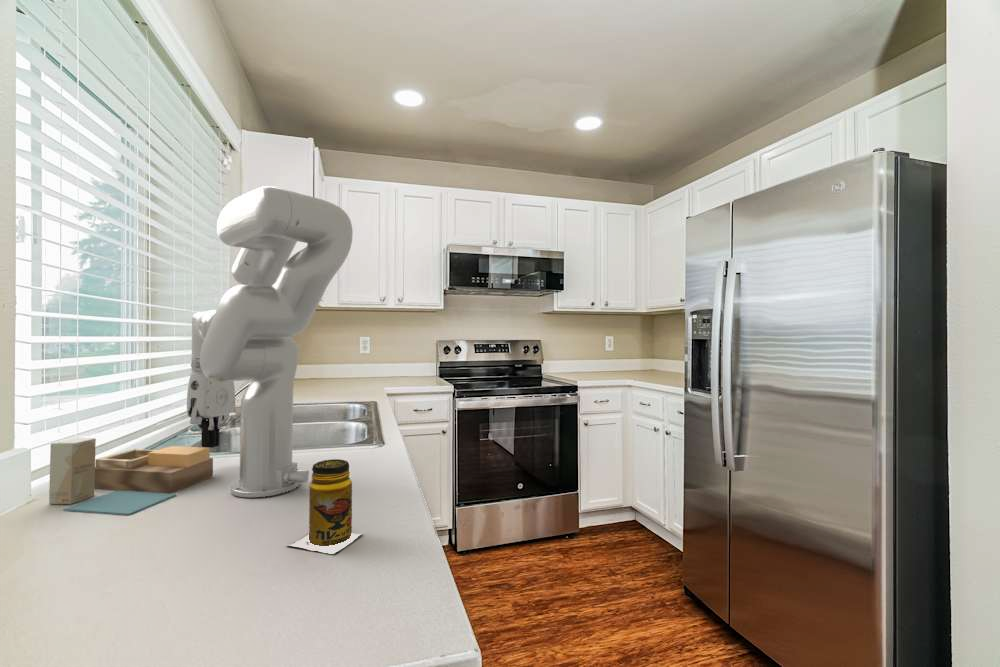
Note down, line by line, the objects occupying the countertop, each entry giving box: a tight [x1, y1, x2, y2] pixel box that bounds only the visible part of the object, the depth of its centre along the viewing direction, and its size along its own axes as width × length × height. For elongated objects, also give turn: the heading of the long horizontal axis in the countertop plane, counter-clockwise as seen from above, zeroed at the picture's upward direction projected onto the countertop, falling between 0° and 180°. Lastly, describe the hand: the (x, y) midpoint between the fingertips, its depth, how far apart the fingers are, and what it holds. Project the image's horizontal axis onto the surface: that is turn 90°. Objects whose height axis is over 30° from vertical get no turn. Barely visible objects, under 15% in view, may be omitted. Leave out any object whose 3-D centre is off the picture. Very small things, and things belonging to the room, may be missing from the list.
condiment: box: [308, 458, 353, 546], centre depth 72 cm, size 7×8×12 cm
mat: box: [62, 490, 177, 516], centre depth 88 cm, size 13×10×1 cm
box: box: [48, 437, 97, 505], centre depth 89 cm, size 5×4×11 cm
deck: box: [94, 448, 214, 494], centre depth 100 cm, size 18×11×6 cm, turn 82°
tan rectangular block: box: [148, 445, 211, 467], centre depth 100 cm, size 9×6×2 cm, turn 82°
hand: (210, 446), depth 109 cm, fingers closed
